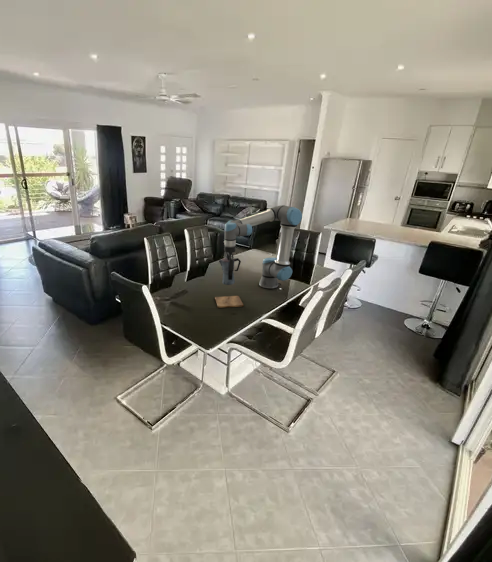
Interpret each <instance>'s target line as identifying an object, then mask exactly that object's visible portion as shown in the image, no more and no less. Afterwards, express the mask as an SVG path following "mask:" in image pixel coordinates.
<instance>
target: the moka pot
mask: <svg viewBox="0 0 492 562" xmlns="http://www.w3.org/2000/svg"><path fill="white" fill-rule="evenodd" d="M226 257H227V256H226V255H225V257H224V258H221V259H219V260H218V263H219V264H220V266H221V270H222V281H221V282H222V285H225V286H232V285H234V284H235V283H236V280H235V279H236V278H235V273H234V272H238V271H239V269H240V265H241V263H242V261H241V260H240V258H238V257H236V258H233V277H232V280H228V273H229V271H228V270H229V260H228V257H227V258H226ZM235 262H238V263H237V267H236V269H234V268H235Z"/></svg>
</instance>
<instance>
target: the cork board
mask: <svg viewBox="0 0 492 562" xmlns="http://www.w3.org/2000/svg"><path fill="white" fill-rule="evenodd" d="M214 300H215V303H216V306H217V309H222V308H223V309H224V308H242V307H244V302H242V299H241V298H240V296H239V295H227V296H215V297H214Z"/></svg>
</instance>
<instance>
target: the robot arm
mask: <svg viewBox="0 0 492 562" xmlns="http://www.w3.org/2000/svg"><path fill="white" fill-rule="evenodd" d="M302 218H303V214H302V211H301V210H300V209H299V208H297V207H295V206H289V205H285V204H281V205H276V206H273V207H269V208H267V209H266V210H265V211H261V212H259V213H255V214H252V215H249V216H246V217H243V218H239V219H235V220H232V219H231V220H228V221H227V222H225V224H224V241H223V243H224V246H223V247H224V248H223V250H224V253H225V258H227V257H228V260H229V270H228V271H229V273H228V280H232V277H233V273H234V271H233V270H234V269H233V259H234V254H233V253H235V252H236V249H237V248H236V245H237V237H245V236H246V237H247V236H250V235H252V233H253V227H254V226H257V225H261V224H264V223H266V222H276V221H277V222H280V224H279V225H280V227H281V232H280V239H279V245H278V251H277V257H266V258H263V259H262V267H261V268H262V269H261V277H260V280H259V283H258V286H259V287H260V288H262V289H266V290H274V289H277V288H278V287H279V286H280V285H282V283H281V282H279V281H282V282H284V281H285V282H286V281H288V280H289V279H290V278H291V277H292V274H293V268H292V267H291V262H290V256H291V250H292V244H293V239H294V238H293V237H294V233H295V229H296V228H298V225H299V224H300V223H301V222H302ZM226 256H227V257H226Z"/></svg>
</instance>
